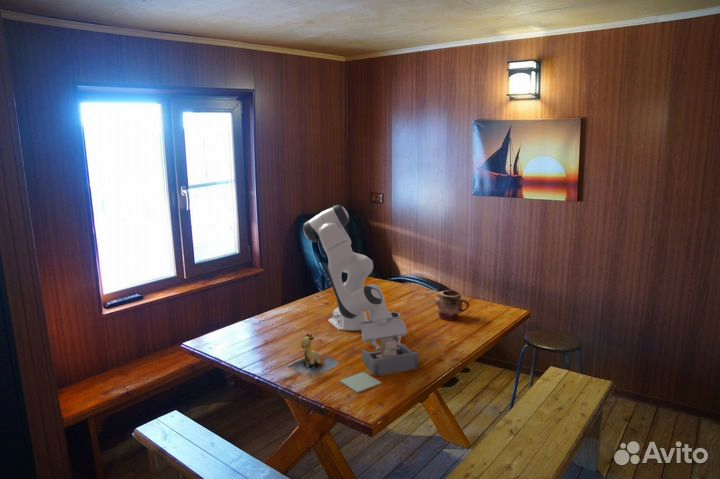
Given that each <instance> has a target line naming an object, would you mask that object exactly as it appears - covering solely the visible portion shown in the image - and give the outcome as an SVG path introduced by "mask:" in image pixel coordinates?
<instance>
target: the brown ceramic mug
mask: <svg viewBox="0 0 720 479" xmlns="http://www.w3.org/2000/svg"><path fill="white" fill-rule="evenodd" d="M433 301H434V304H435V306H437V308H438V317H439V318H440V319H441V320H445V321H454V320H456V319H457V318H458V316H459V315H460V314H462V313H464V312H466V311H467V310H468V309H469V307H470V302H469V300H467V299H466V298H462V295H461V293H460V292H459V291H456V290H454V289H453V290H452V289H451V290H441V291H439V292H437V294H436V297H434V299H433ZM463 303H464V304H465V305H466V308H464V309H463V307H462V306H463Z"/></svg>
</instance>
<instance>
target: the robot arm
mask: <svg viewBox="0 0 720 479" xmlns="http://www.w3.org/2000/svg"><path fill="white" fill-rule="evenodd" d="M349 222H350V217H349V213H348V211H347V209H346V208H345V207H344V206H343V205H340V204H336V205H332V207H329V208H327V209H325V210H323V211H321V212H320V213H317V214H315V216H313V217H312V218H310V219H309V220H307V221H306V222H304V223H303V226H302V229H303V230H302V231H303V234H304V236H305V237H306V239H308V240H309V241H310V242H312V243H321V245H322V247H323V250H324V252H325V254H326V255H327V256H326V257H327V260H328V264H327V265H326V266H327V267H326V271H327V275H328V278H329V282H330V285H331V287H332V290H333V293H334V295H335V298H336V302H337V306H338V307H336V308H335V309H334V310H333V311H332V317H330V318H329V319H328V322H329V323H330V325H332V326H333V327H335V329H337V330H338V331H351V332H352V331H361V338H362V342H364V343H369V342H370V343H371V344H372V346H374V347H375V349H376V351H381V350H382V347H381V345H380V344H378V343H377V341H378V342H379V341H382V339H385V338H391V337H392V338H393V339H396V348H398V347H400V346H401V344H402V343H401V340H402V337H406V335H408V329H407V325H406V323H405V322H404V319H402V318H401V313H399V312H397V311H396V312H395V311H390V310H389V308H388V307H387V305H386V300H385V296H384V293H383V291H382V290H381V288H380V286H379V285H378V284H375V283H371V284H367V285H365V282H366V279H367V277H368V276H369V275H371V274H372V272H373V270H374V261H373V260H372V259H371V258H370V257H368V256H367V255H365V254H361V253H357V252H354V251H353V249H352V246H351V245H352V240H351V238H350V236H349V234H348V233H347V230H346V229H345V226H346V225H348V223H349ZM343 273H346V274H347V279H346V281H344V282H343V279H342V276H343V275H342V274H343ZM367 311H368V317H369V319H368V317H367Z"/></svg>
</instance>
